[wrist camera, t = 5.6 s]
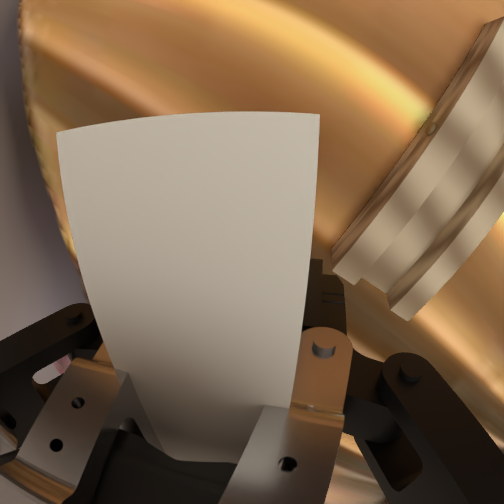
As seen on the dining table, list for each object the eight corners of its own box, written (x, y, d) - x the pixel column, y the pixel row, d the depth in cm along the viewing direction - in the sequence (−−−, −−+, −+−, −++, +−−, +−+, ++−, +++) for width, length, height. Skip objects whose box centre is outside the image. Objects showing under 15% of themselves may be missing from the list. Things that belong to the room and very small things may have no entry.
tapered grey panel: (296, 358, 14) (267, 512, 7) (237, 350, 15) (182, 493, 8) (318, 114, 9) (318, 113, 2) (232, 112, 10) (56, 131, 3)
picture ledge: (399, 297, 28) (407, 321, 25) (328, 247, 28) (329, 268, 24) (544, 92, 15) (567, 94, 11) (482, 21, 14) (503, 13, 11)
